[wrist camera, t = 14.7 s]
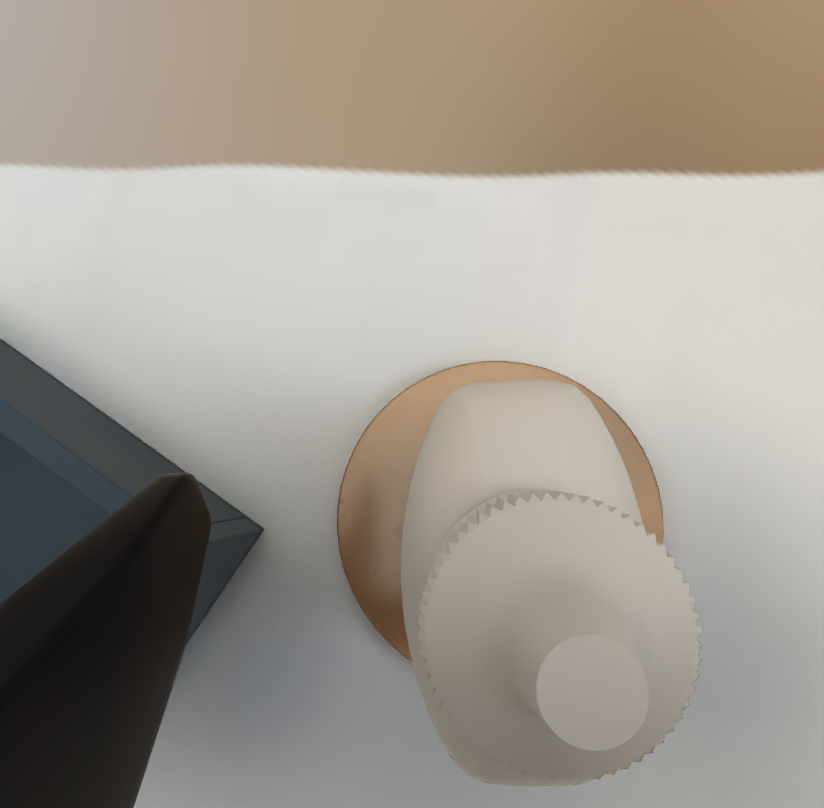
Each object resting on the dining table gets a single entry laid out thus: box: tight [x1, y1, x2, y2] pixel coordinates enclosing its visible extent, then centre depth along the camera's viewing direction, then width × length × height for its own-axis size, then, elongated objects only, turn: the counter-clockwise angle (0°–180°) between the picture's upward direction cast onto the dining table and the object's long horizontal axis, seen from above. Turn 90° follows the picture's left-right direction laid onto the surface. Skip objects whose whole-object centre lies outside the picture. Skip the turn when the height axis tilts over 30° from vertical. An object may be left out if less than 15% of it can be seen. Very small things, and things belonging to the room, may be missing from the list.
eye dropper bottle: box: [401, 380, 702, 786], centre depth 10 cm, size 4×6×12 cm
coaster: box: [337, 361, 664, 661], centre depth 16 cm, size 8×8×1 cm
